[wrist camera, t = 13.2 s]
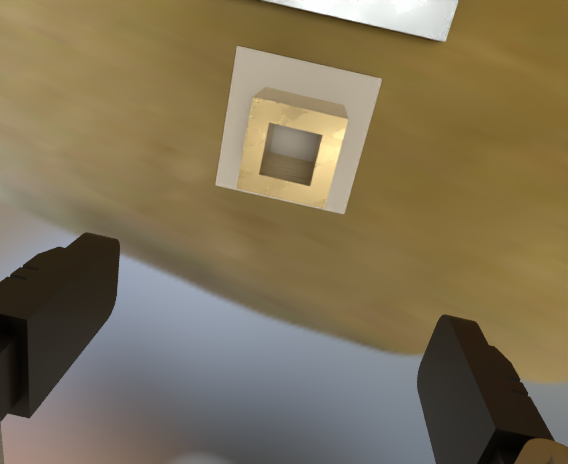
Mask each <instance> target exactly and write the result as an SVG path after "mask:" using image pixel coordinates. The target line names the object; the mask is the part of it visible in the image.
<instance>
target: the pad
mask: <svg viewBox="0 0 568 464" xmlns="http://www.w3.org/2000/svg"><path fill="white" fill-rule="evenodd" d="M381 82H382V79H381V78H378V77H374V76H370V75H365V74H361V73H356V72H352V71H348V70H343V69H339V68H335V67H330V66H326V65H321V64H317V63H313V62H308V61H304V60H299V59H295V58H291V57H286V56H282V55H277V54H273V53H269V52H264V51H260V50H255V49H251V48H247V47H242V46H237V50H236V56H235V62H234V69H233V75H232V82H231V88H230V95H229V101H228V107H227V114H226V120H225V127H224V133H223V140H222V146H221V152H220V159H219V165H218V172H217V178H216V186H220V187H225V188H229V189H234V190H238V191H243V192H247V193H251V194H256V195H260V196H265V197H269V198H274V199H278V200H282V201H287V202H291V203H296V204H300V205H305V206H309V207H313V208H318V209H322V210H327V211H331V212H336V213H340V214H344V213H345V210H346V206H347V202H348V199H349V195H350V192H351V188H352V185H353V181H354V178H355V174H356V170H357V167H358V163H359V160H360V156H361V153H362V149H363V146H364V142H365V138H366V135H367V131H368V128H369V124H370V121H371V117H372V114H373V110H374V106H375V103H376V99H377V96H378V92H379V89H380V85H381ZM264 87H269V88H273V89H277V90H281V91H286V92H290V93H294V94H299V95H303V96H307V97H311V98H316V99H320V100H324V101H328V102H333V103H337V104H341V105H344V106H345V109H346V113H347V116H348V123H347V126H346V130H345V134H344V138H343V141H342V145H341V149H340V153H339V156H338V160H337V164H336V168H335V171H334V175H333V179H332V182H331V186H330V190H329V194H328V197H327V201H326V205H325V209H323V208H319V207H315V206H310V205H306V204H302V203H297V202H293V201H289V200H284V199H280V198H276V197H271V196H267V195H263V194H258V193H254V192H250V191H245V190H241V189H237V188H236V187H237V182H238V176H239V171H240V165H241V160H242V154H243V149H244V143H245V138H246V132H247V127H248V121H249V116H250V110H251V105H252V99H253V96H255V95H256V94H257V93H258V92H260V91H261V90H262V89H263V88H264ZM318 138H319V134H317V133H312V132H308V131H304V130H300V129H295V128H291V127H287V126H282V125H278V124H275V129H274V134H273V138H272V143H271V148H270V152H271V153H276V154H280V155H284V156H289V157H293V158H297V159H302V160H306V161H310V162H313V158H314V154H315V150H316V146H317V142H318Z"/></svg>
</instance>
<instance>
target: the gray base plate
mask: <svg viewBox="0 0 568 464" xmlns="http://www.w3.org/2000/svg"><path fill="white" fill-rule="evenodd" d="M258 1H262V2H267V3H271V4H276V5H280V6H284V7H289V8H293V9H297V10H302V11H306V12H311V13H315V14H319V15H324V16H328V17H332V18H337V19H341V20H346V21H350V22H354V23H359V24H363V25H367V26H372V27H376V28H381V29H385V30H389V31H394V32H398V33H402V34H407V35H411V36H416V37H420V38H424V39H429V40H433V41H437V42H445V41H446V38H447V35H448V32H449V29H450V25H451V22H452V19H453V16H454V13H455V10H456V7H457V4H458V1H459V0H258Z"/></svg>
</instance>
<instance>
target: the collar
mask: <svg viewBox="0 0 568 464" xmlns="http://www.w3.org/2000/svg"><path fill="white" fill-rule="evenodd" d="M347 123H348V116H347V113H346V109H345V106H344V105H341V104H337V103H333V102H328V101H324V100H320V99H316V98H311V97H307V96H303V95H299V94H294V93H290V92H286V91H281V90H277V89H273V88H269V87H264V88H263V89H262V90H261V91H260V92H258V93H257V94H256V95H255V96H253V99H252V105H251V110H250V116H249V121H248V127H247V132H246V138H245V143H244V149H243V154H242V160H241V165H240V171H239V176H238V182H237V187H236V188H237V189H241V190H245V191H250V192H254V193H258V194H263V195H267V196H271V197H276V198H280V199H284V200H289V201H293V202H297V203H302V204H306V205H310V206H315V207H319V208H323V209H325V205H326V201H327V197H328V194H329V190H330V186H331V182H332V179H333V175H334V171H335V168H336V164H337V160H338V156H339V153H340V149H341V145H342V141H343V138H344V134H345V130H346V126H347ZM275 124H278V125H282V126H287V127H291V128H295V129H300V130H304V131H308V132H312V133H317V134H319V138H318V142H317V146H316V150H315V154H314V158H313V162H310V161H306V160H302V159H297V158H293V157H289V156H284V155H280V154H276V153H271V152H270V148H271V143H272V138H273V134H274V129H275Z"/></svg>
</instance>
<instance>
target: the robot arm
mask: <svg viewBox="0 0 568 464" xmlns="http://www.w3.org/2000/svg"><path fill="white" fill-rule="evenodd" d="M119 256H120V244H119V241H118V240H117V239H114V238H110V237H106V236H101V235H97V234H92V233H87V232H86V233H84V234H82V235H81V236H80V237H79V238H77V239H76V240H75V241H74V242H72V243H71V244H70V245H69V246H67V247H66V248H62V247H57V248H54V249H51V250H48V251H45V252H42V253H40V254H37V255H36V256H35V257H33V258H32V259H31V260H29V261H28V262H27V263H25V264H24V265H23V267H22V268H21V267H20V268H18V269H17V270H16V271H14V272H13V273H12V274H11V275H10V277H6V278H5V279H4V280H2V281H1V282H0V422H1V421H2V420H3V418H4V417H5V416H6V415H7V414H13V415H17V416H21V417H26V418H30V417H31V416H32V415H33V414H34V412H35V411H36V410H37V408H38V407H39V406H40V405H41V403H42V402H43V401H44V400H45V398H46V397H47V396H48V394H49V393H50V392H51V391H52V389H53V388H54V387H55V386H56V384H57V383H58V382H59V380H60V379H61V378H62V377H63V375H64V374H65V373H66V372H67V370H68V369H69V368H70V367H71V365H72V364H73V363H74V361H75V360H76V359H77V358H78V356H79V355H80V354H81V352H82V351H83V350H84V349H85V347H86V346H87V345H88V344H89V342H90V341H91V340H92V339H93V337H94V336H95V335H96V334H97V332H98V331H99V330H100V328H101V327H102V326H103V325H104V323H105V322H106V321H107V319H108V318H109V316H110V315H111V313H112V310H113V308H114V305H115V301H116V296H117V284H118V270H119ZM417 389H418V394H419V397H420V401H421V405H422V409H423V413H424V417H425V421H426V425H427V429H428V433H429V437H430V441H431V445H432V449H433V453H434V457H435V461H436V464H568V447H567V446H565V445H563V444H560V443H558V442H555V440H554V439H553V437H552V435H551V433H550V431H549V430H548V428H547V426H546V424H545V422H544V421H543V419H542V417H541V415H540V414H539V412H538V410H537V408H536V406H535V405H534V403H533V401H532V399H531V398H530V397H529V396H528V392H527V390H526V389H525V387H524V385H523V383H522V382H520V378H519V376H518V374H517V372H516V371H515V369H514V367H513V365H512V364H511V362H510V361H509V360H508V359H507V358H506V357H505V356H504V355H503V354H502V353H501V352H500V351H499V350H498V349H496V348H495V347H494V346H490V345H488V343H487V341H486V339H485V337H484V335H483V333H482V331H481V329H480V327H479V325H478V324H477V322H475V321H472V320H467V319H463V318H458V317H454V316H450V315H442V316H441V317H440V318H439V320H438V322H437V324H436V327H435V329H434V332H433V334H432V337H431V339H430V342H429V344H428V346H427V349H426V351H425V354H424V356H423V359H422V361H421V364H420V367H419V371H418V377H417ZM0 464H4V457H3V446H2V434H1V423H0Z"/></svg>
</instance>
